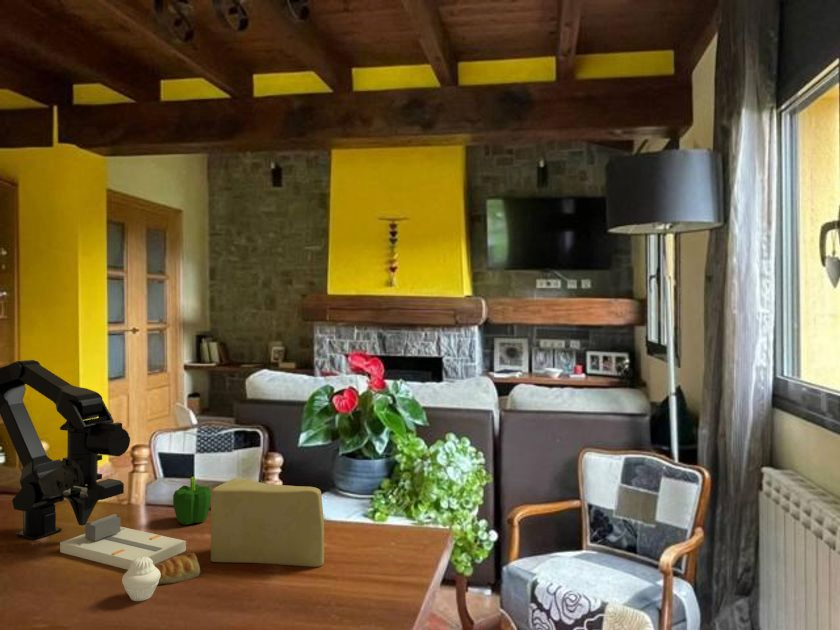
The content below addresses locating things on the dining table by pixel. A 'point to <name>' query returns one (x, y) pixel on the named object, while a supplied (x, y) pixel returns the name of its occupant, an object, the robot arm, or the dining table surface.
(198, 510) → the bell pepper
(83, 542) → the dimmer console
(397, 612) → the dining table surface
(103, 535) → the fader cap
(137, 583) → the muffin
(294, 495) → the cheese
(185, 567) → the pastry
